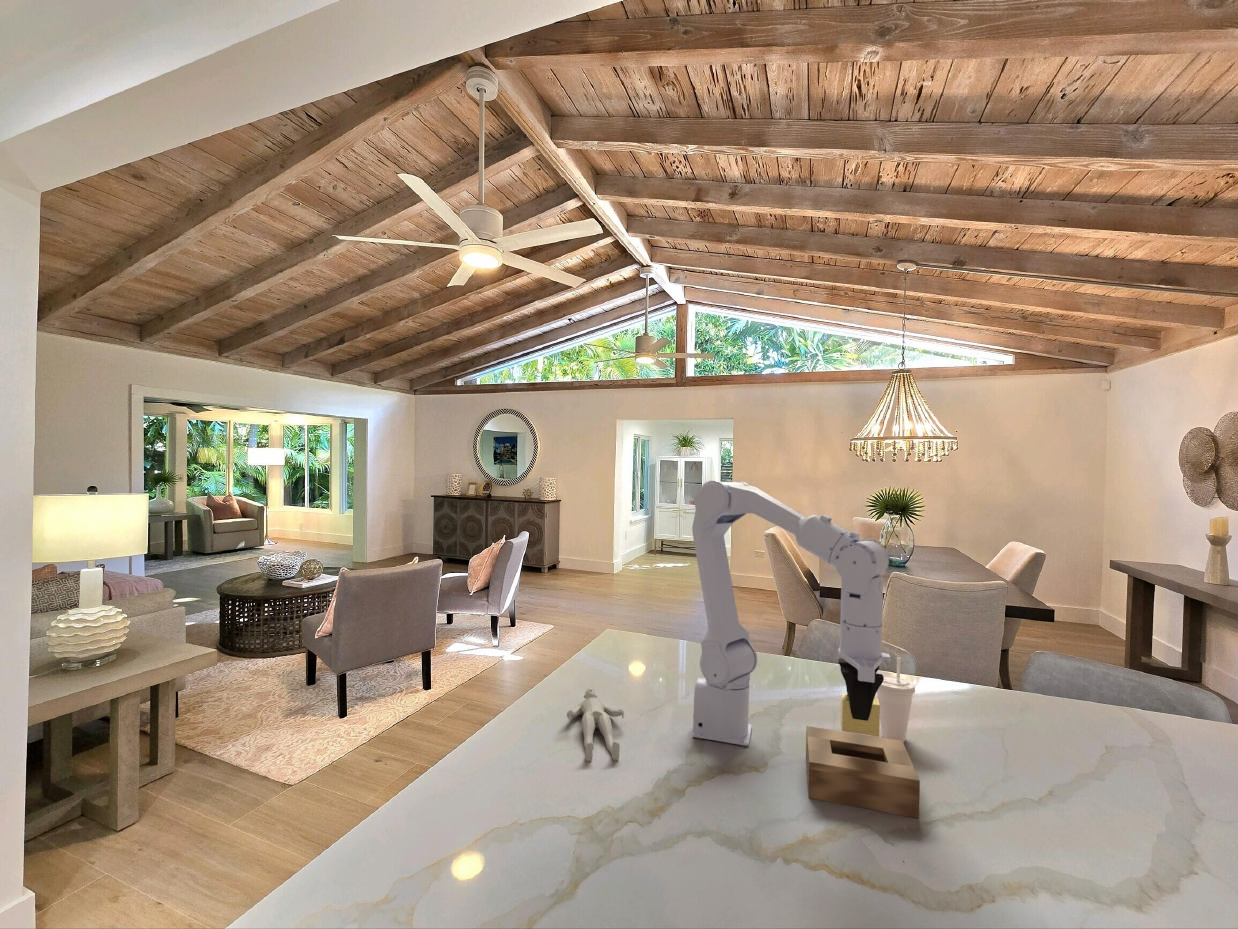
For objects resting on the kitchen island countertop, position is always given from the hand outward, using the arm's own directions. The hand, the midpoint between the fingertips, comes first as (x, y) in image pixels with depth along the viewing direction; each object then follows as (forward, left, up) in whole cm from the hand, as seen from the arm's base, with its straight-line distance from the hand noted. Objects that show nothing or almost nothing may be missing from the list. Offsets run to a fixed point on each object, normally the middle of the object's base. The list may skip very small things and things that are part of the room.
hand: (858, 714), depth 82 cm
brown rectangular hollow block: (0, 0, -10) cm, 10 cm away
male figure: (-42, +3, -11) cm, 44 cm away
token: (0, 0, -2) cm, 2 cm away
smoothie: (+8, +19, -10) cm, 23 cm away
